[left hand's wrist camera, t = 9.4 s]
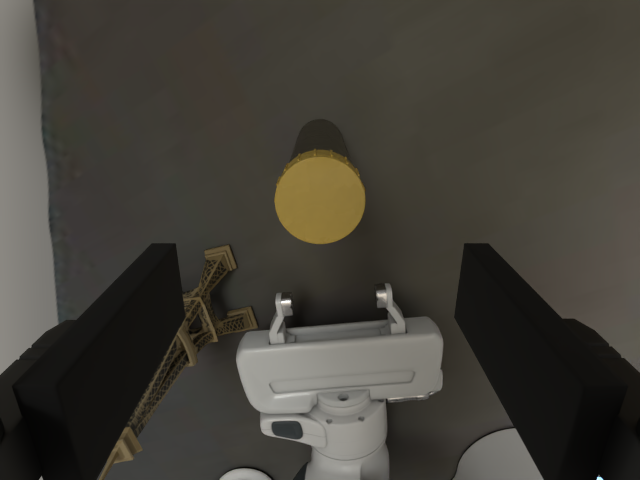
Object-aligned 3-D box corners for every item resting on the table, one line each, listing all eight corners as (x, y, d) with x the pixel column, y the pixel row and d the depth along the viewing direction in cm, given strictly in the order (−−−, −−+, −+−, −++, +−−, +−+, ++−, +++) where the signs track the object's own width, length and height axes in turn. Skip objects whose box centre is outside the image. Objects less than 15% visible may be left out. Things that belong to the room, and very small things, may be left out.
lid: (266, 215, 25) (261, 228, 23) (293, 135, 23) (290, 141, 21) (344, 241, 25) (346, 256, 23) (375, 165, 24) (380, 174, 22)
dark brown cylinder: (291, 156, 42) (268, 223, 23) (306, 112, 40) (294, 146, 22) (333, 171, 42) (343, 248, 24) (349, 128, 41) (373, 175, 22)
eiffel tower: (258, 326, 49) (201, 556, 26) (172, 344, 50) (42, 583, 26) (229, 244, 45) (132, 427, 22) (137, 265, 46) (-51, 463, 23)
